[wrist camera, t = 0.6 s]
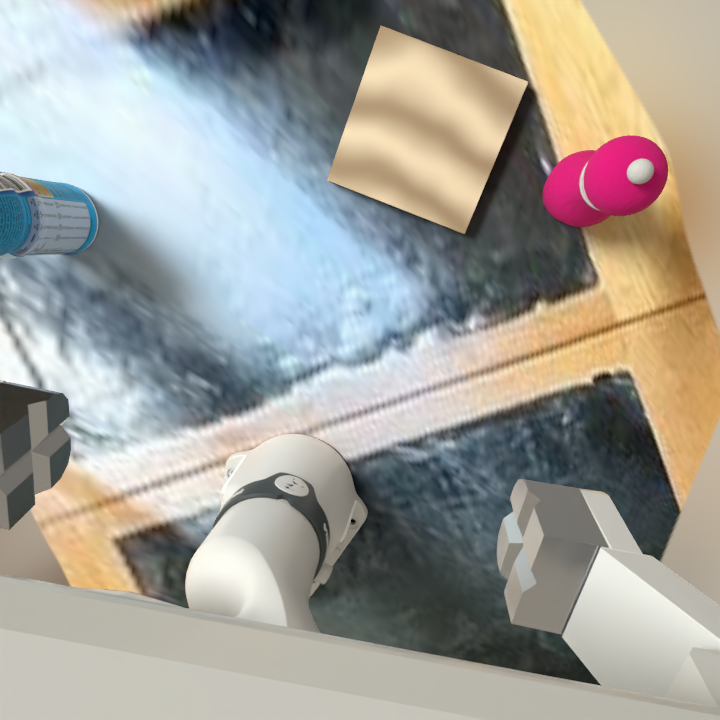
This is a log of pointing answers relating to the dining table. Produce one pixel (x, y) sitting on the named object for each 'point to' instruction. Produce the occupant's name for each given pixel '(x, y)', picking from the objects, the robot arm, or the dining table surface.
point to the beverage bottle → (44, 218)
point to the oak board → (425, 129)
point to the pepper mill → (606, 181)
